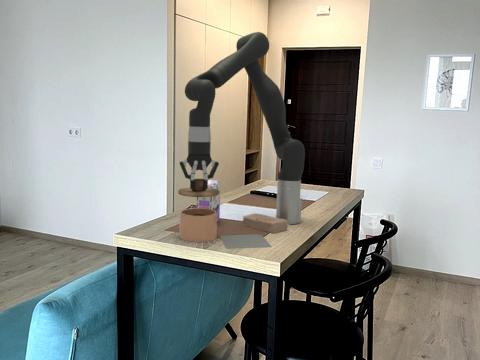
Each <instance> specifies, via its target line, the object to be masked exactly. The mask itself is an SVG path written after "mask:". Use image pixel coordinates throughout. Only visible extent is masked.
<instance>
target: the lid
mask: <svg viewBox="0 0 480 360" xmlns="http://www.w3.org/2000/svg"><path fill="white" fill-rule="evenodd" d="M194 180H195V191H192V189H191V188H190V187H184V188H180V189H178V193H177V194H178V195H180V196H182V197H183V196H184V197H188V198H190V197H191V198H197V197H211V196H216V195H219V190H217V189H213V188H207V189H206V191H203V189H204V178H194Z"/></svg>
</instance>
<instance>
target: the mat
mask: <svg viewBox="0 0 480 360" xmlns="http://www.w3.org/2000/svg"><path fill="white" fill-rule="evenodd" d="M219 238H220V240H221V242H222V243H223V245H224V247H225V249H230V250H231V249H251V248H252V249H253V248H257V249H258V248H259V249H261V248H273V247H272V244H270V243H269V242H268V240H266V238H265V237H264V236H263V235H262V234H260V233H259V234H234V235H232V234H231V235H228V234H227V235H219Z"/></svg>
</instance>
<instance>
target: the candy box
mask: <svg viewBox="0 0 480 360" xmlns="http://www.w3.org/2000/svg"><path fill="white" fill-rule="evenodd" d="M208 188H213V189H217V190H219V195H216V196H211V197H196V208H205V209H212V210H215V211H216V212H217V223H218V222H219V221H220V220H221V219H220V215H221V214H220V213H221V211H220V207H221V206H220V205H221V203H220V202H221V200H220V199H221V180H215V179H208Z"/></svg>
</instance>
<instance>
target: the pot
mask: <svg viewBox="0 0 480 360" xmlns="http://www.w3.org/2000/svg"><path fill="white" fill-rule="evenodd" d="M195 214H201V215H205V216H192V215H195ZM217 236H218V222H217V212H216V211H215V210H212V209H205V208H197V207H196V208H195V207H191V208H184V209H182V210H180V211H179V238H180V239H181V240H183V241H187V242H194V243H195V242H196V243H201V242H202V243H205V242H209V241H213V240H215V239H217V238H218V237H217Z"/></svg>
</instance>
